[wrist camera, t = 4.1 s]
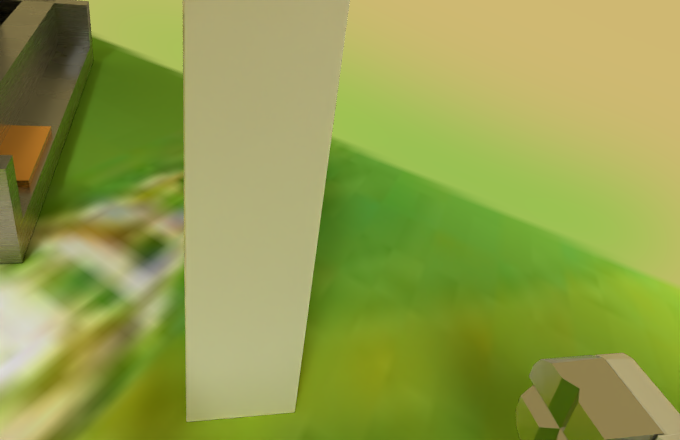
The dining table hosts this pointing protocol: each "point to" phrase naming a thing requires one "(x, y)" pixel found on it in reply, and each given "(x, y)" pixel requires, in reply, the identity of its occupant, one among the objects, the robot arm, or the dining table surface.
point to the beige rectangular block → (253, 193)
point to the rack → (36, 105)
